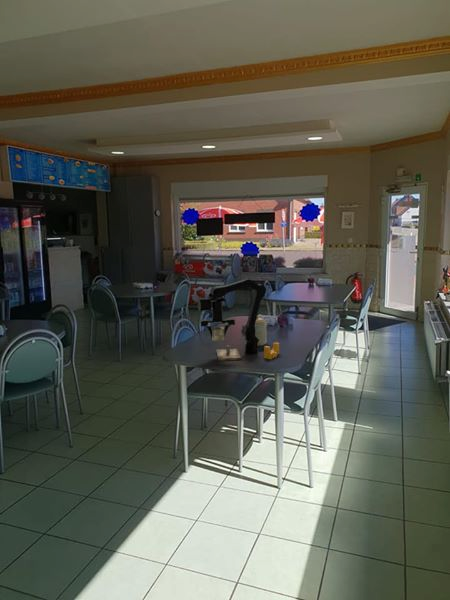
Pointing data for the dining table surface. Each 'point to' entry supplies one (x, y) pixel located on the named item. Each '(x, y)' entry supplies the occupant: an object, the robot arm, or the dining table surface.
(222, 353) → the post board
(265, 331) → the jar
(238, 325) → the dining table surface
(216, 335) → the collar
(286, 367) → the dining table surface
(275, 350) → the pipe clamp
